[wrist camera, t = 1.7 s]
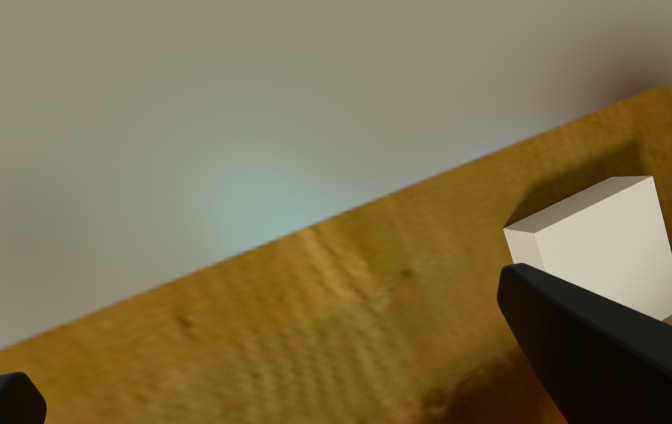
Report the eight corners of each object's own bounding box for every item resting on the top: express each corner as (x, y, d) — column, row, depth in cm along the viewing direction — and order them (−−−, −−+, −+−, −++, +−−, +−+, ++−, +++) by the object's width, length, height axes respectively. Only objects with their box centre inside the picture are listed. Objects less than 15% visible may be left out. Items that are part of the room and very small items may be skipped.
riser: (643, 295, 31) (684, 306, 28) (542, 352, 29) (576, 371, 26) (611, 176, 30) (652, 175, 27) (502, 228, 28) (534, 233, 25)
